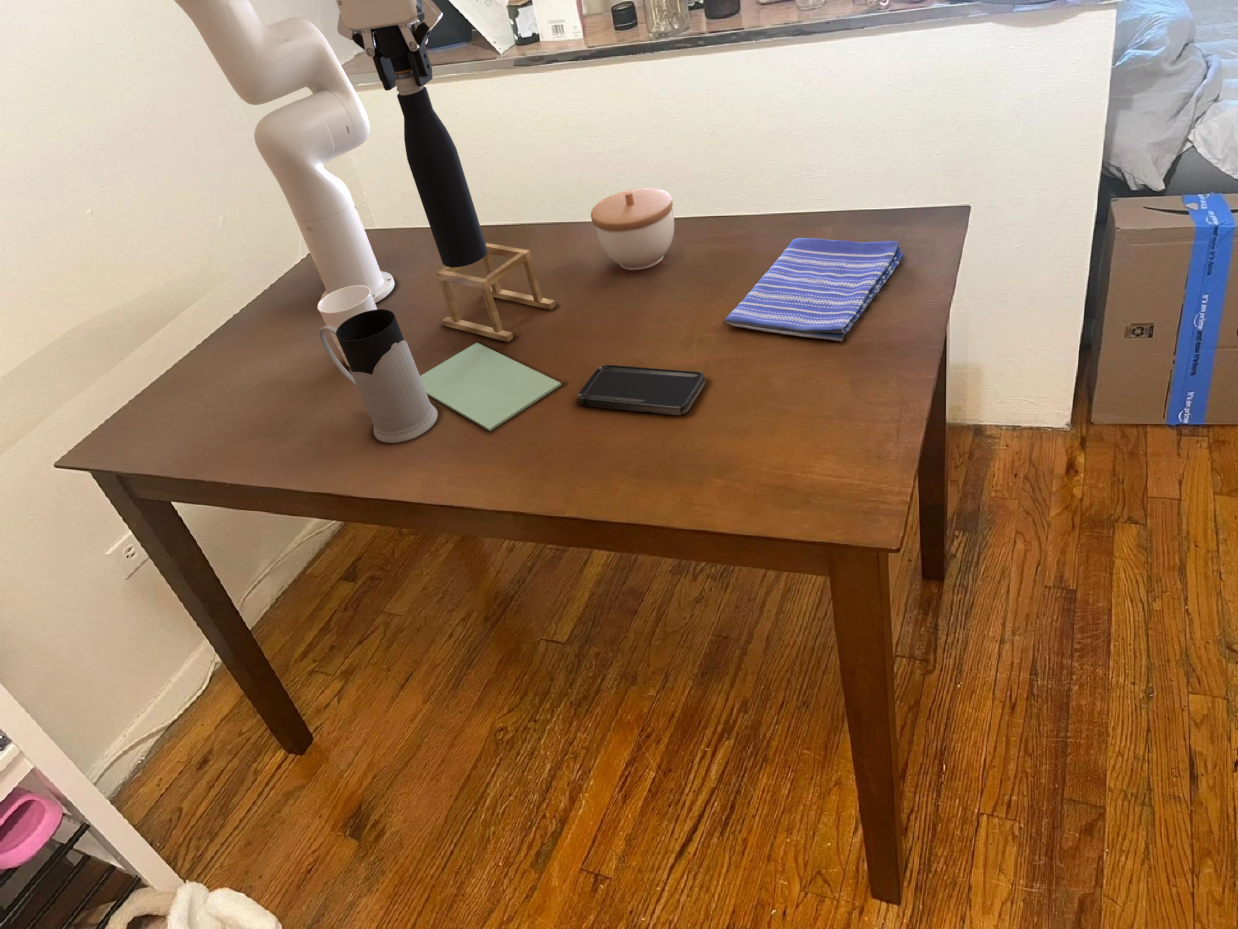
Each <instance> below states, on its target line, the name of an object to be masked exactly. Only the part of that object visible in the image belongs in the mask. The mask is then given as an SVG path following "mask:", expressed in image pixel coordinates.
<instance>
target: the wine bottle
mask: <svg viewBox="0 0 1238 929" xmlns="http://www.w3.org/2000/svg"><path fill="white" fill-rule="evenodd" d="M375 33H376V36H377V39H378V42H379V45H380V48H381V51H382V54H383V57H384V58H385V59H390V60H391V63H392V66H393V69H394V74H396V75H399V76H397V77H396V78H395V85H396V86H395V87H396V92H398V93H397V95H396V97H397V101H398V103H399V107H400V109H401V112H402V115H403V140H404V149H405V154H406V158H407V159H406V160H407V163H408V166H409V169H410V172H411V175H412V178H413V180H414V184H415V187H416V189H417V192H418V196H419V198H420V201H421V204H422V207H423V211H424V213H425V216H426V219H427V222H428V224H429V227H430V230H431V233H432V236H433V239H434V242H435V245H436V248H437V251H438V255H439V257H440V259H441V264H442V265H443V266H444V267H446V266H447V267H463V266H464V267H466V266H467V267H468V266H469V265H473V264H475V263H477V262H479V261H480V260H483V259H482V258H483V257H484V256H485V255H486V254H487V251H488V250H487V247H486V243H487V242H486V239H485V238H484V234H483V231H482V226H481V224H480V221H479V218H478V214H477V211H476V208H475V205H474V201H473V198H472V195H471V191H470V189H469V188H470V187H469V184H468V182H467V178H466V176H465V172H464V169H463V166H462V162H461V159H460V157H459V152H458V149H457V147H456V145H455V143H454V140H453V138H452V136H451V134H450V133H449V131H448V129H447V127H446V125H445V124H444V123H443V121H442V120H441V119H440V117H439V116H438V114H437V113H436V111H435V109H434V107H433V104H432V101H431V98H430V94H429V92H428V89H427V86H425V85H424V86H420V87H418V86H417V85H416V83H415V79H414V76H413V73H412V70H411V67H410V64H409V61H408V58H407V53H408V52H409V51H410V49H409V47H408V45H407V43H406V41H405V39H404V37H403V34H402V32H401V30H400V28H399V26H398V25H394V26H388V27H381V28H375ZM464 267H463V268H464Z"/></svg>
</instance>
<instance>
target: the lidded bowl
mask: <svg viewBox="0 0 1238 929" xmlns="http://www.w3.org/2000/svg"><path fill="white" fill-rule="evenodd" d="M673 206H674V204H673V198H672V195H671V194H670V193H669V192H667V191H665V190H664V189H659V188H654V187H653V188H652V187H644V188H643V187H641V188H633V189H628V190H624V191H621V192H617V193H614V194H612V195H609V196H607V197H605V198H603V199H601V200H600V201H599V202H598V203H596V204H595V205H594V206H593V207H592V209H591V211H590V219H591V222H592V224H593V227H594V232H595V235H596V238H597V241H598V244H599V245H600V247H601V249H602V251H603V252H604V254H605V255H606V256H607V257H608V258H609V259H610V260H611V261H613V262H615V263H616V264H618V265H619V266H620V268H622V269H624V270H627V271H640V270H645V269H649V268H651V267H653V266H656V265H658V264H660V263H661V262H662V261H663V259H664V257H665V254H666V253H667V252H668V251H669V249H670V247H671V244H672V243H673V239H674V236H675V214H674V209H673Z"/></svg>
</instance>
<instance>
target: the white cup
mask: <svg viewBox="0 0 1238 929" xmlns="http://www.w3.org/2000/svg"><path fill="white" fill-rule="evenodd" d="M316 308H317V311H318V312H319V315H320V317H321V318H322V320H323V322H324V324H325V326H327V325H329V326H333V327H335V328H336V329H338V327H339V326H340V325H341V324H342V323H343V322H345V321H346V320H348V319H349V318H351V317H353V316H355V315H357V314H360V313H363V312H366V311H371V310H377V309H378V308H377V303H375V302H374V299H373V296H372V293H371V290H370V288H368V287H367V286H362V285H354V286H348V287H344V288H341V289H338V290H336V291H334V292H332V293H330V294H328V295H326V296H325V297H324V298H323V299H321V298H320V300H319V301H318V303H317V307H316ZM328 333H329V335H330V337H331V338H332V340H333V341H334V344H335V346H336V348H337V350H338V351H339V353H340V354H341V357H342V359H343V361H344V363H345V365H346V366H347V367H349V368H350V366H349V364H348V361H347V359H346V357H345V355H344V352H343V350H342V348H341V345H340V343H339V341H338V339H337V336H336V335H335V334H334V333H332V332H331V331H329V330H328Z"/></svg>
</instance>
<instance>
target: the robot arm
mask: <svg viewBox="0 0 1238 929" xmlns="http://www.w3.org/2000/svg"><path fill="white" fill-rule="evenodd" d="M173 1H174V2H175V4H177V5H178V7H180V8H181V9H182V10H183V12H184V13H185V14H186V15H187V17H188V18H189V19H190V20H191V21H192V23H193V25H194V26H195V28H196V29H197V31H198V33H200V36H201V37H202V39H203V41H204V43H205V44H206V47H207V48H208V49H209V51H210V53H211V55H212V56H213V58H214V60H215V61H216V63H217V65H218V66H219V68H220V69H221V71H222V73H223V74H224V76H225V78H226V80H227V82H229V84H230V86H231V87H232V89H233V90H234V91H235V93H236V94H237V95H238V97H239V98H240V99H241V100H242V101H243V102H245V103H246V104H249V105H253V106H259V105H263V104H267V103H270V102H274V101H275V100H278V99H280V98H282V97H285V96H288V95H291V94H292V93H295V92H298V91H300V90H302V89H304V88H308V89H309V90H310V92H311V94H309V95H307V96H305V97H302V98H299V99H297V100H295V101H293V102H290V103H287V104H285V105H282V106H281V107H279V108H276V109H274V110H273V111H271V112H269V113H267V114H266V115H264V116H263V117H262V118H261V119H260V120H259V121H258V122H257V124H256V125H255V129H254V133H253V136H254V142H255V146H256V149H257V151H258V152H259V155H260V156H261V157H262V159H263V160H264V162H265V164H266V166H267V167H268V168H269V170H270V171H271V174H272V175H273V177H274V178H275V180H276V181H277V183H278V185H279V188H280V189H281V191H282V193H283V195H284V197H285V199H286V201H287V204H288V206H289V209H290V210H291V212H292V215H293V218H294V219H295V221H296V224H297V226H298V228H299V231H300V233H301V236H302V237H303V240H304V242H305V244H306V248H307V249H308V251H309V254H310V256H311V258H312V261H313V263H314V265H315V268H316V270H317V272H318V275H319V277H320V279H321V282H322V284H323V286H324V288H325V290H324V292H322V295H321V296H320V300H321V299H323V298H324V297H325V296H326V295H328V294H330V293H332V292H334V291H336V290H338V289H341V288H344V287H348V286H354V285H362V286H367V287H368V288H370V290H371V293H372V296H373V299H374V302H375V304H377V303H378V302H381V300H383V299H385V298H386V297H387V296H389V295H390V294H391V292H392V291H393V289H394V288H395V284H396V282H395V280H394V277H393V275H392V274H390V273H389V272H387V271H382V270H381V268H380V266H379V264H378V262H377V258H376V256H375V253H374V251H373V248H372V245H371V243H370V241H369V238H368V235H367V232H366V229H365V228H364V225H363V222H362V219H361V217H360V215H359V211H358V210H357V206H356V204H355V202H354V199H353V197H352V194H351V191H350V190H349V188H348V186H347V184H346V183H345V182H344V181H343V180H342V179H340V178H339V177H338V176H336V175H335V174H332V173H331V172H330V171H328V170H326V168H325V165H326V164H327V163H328V162H330V161H332V160H334V159H337V158H338V157H340V156H342V155H345V154H346V153H348V152H350V151H352V150H354V149H356V148H358V147H360V146H362V145H363V144H364V143H365V142H366V141H367V140H368V139H369V136H370V133H371V124H370V119H369V117H368V114H367V111H366V109H365V106H364V105H363V103H362V100H361V99H360V97H359V96H358V94H357V91H356V90H355V88H354V87H353V84H352V82H351V80H350V79H349V77H348V76H347V74H346V72H345V70H344V68H343V66H342V65H341V63H340V61H339V59H338V57H337V55H336V53H335V51H334V50H333V48H332V46H331V45H330V42H329V41H328V40H327V38H326V37H325V35H324V34H323V32H322V31H320V29H319V28H318V27H317V26H316V25H315V24H313V22H311V21H309V20H308V19H306V18H303V17H296V16H295V17H289V18H285V19H282V20H279V21H277V22H274V23H272V24H269V25H266V24H265V23H263V22H262V21H261V19H260V17H259V16H258V15H257V13H256V11H255V9H254V7H253V5H252V4H251V2H250V0H173ZM335 3H336V6H337V8H338V11H339V15H338V22H337V34H339V35H340V36H341V37H344V38H346V39H347V40H350V41H353V43H355V44H356V45H357V46H358V47H360V48H361V49H362V50H363V51H365V54H366V56H367V57H369V58H372V61H373V64H374V67H375V69H376V70H375V71H376V73H377V76H378V78H379V81H380V82H381V83H382V87H383V89H384V90H385V91H391V90H392V89H394V88H395V87H397V86H396V85H395V78H396V77H397V76H399V75H396V74H394V69H393V66H392V63H391V60H390V59H385V58H384V57H383V54H382V51H381V48H380V45H379V42H378V39H377V36H376V33H375V28H381V27H388V26H394V25H398V26H399V28H400V30H401V32H402V34H403V37H404V39H405V41H406V43H407V45H408V47H409V49H410V51H409V52H408V53H407V58H408V61H409V64H410V67H411V70H412V73H413V76H414V79H415V83H416V85H417V86H418V87H420V86H424V87H425V86H426V85H427V83H429V82H430V81H432V80H433V77H434V76H433V67H432V64H431V61H430V57H429V55H428V52H427V48H426V45H427V44H428V40H429V37H430V34H431V33H432V30H433V28H434V27H435V26H436V25H437V24H438V23H439V21H440V20H441V19H442V17H443V11H442V10H441V9H440V8H439V7H438V5H436V3H435V2H434V1H433V0H335ZM419 15H423V19H422V20H421V21H420V19H419Z"/></svg>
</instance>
